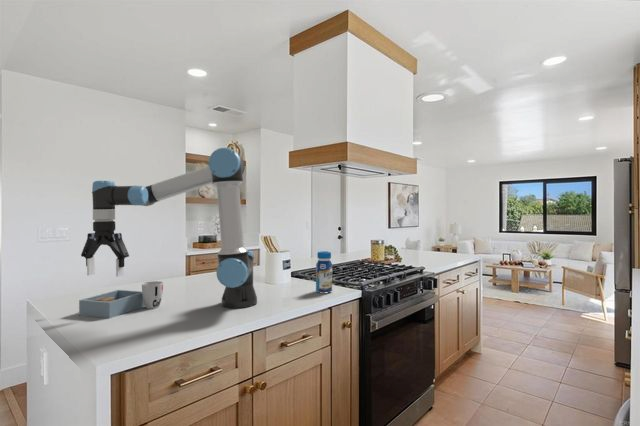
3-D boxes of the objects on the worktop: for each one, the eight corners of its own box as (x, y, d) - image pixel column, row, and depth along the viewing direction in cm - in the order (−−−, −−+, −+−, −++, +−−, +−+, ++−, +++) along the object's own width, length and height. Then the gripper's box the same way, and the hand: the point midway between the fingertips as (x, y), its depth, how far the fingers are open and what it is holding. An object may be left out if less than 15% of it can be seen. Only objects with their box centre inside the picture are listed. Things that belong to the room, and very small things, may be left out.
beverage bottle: (321, 289, 187) (322, 250, 187) (335, 291, 182) (335, 251, 182) (312, 292, 180) (312, 252, 180) (326, 294, 175) (326, 253, 175)
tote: (145, 305, 153) (145, 291, 153) (109, 318, 135) (109, 302, 135) (118, 303, 157) (118, 289, 157) (79, 315, 138) (79, 300, 138)
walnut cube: (114, 310, 143) (114, 297, 143) (104, 313, 138) (104, 300, 138) (104, 309, 144) (104, 296, 144) (93, 312, 139) (93, 299, 139)
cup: (154, 310, 146) (154, 285, 146) (137, 309, 148) (137, 284, 148) (167, 305, 154) (167, 281, 154) (150, 304, 156) (150, 280, 156)
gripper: (138, 220, 141) (139, 274, 142) (86, 220, 148) (87, 272, 148) (123, 220, 134) (124, 278, 134) (69, 221, 140) (70, 276, 140)
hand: (105, 275), depth 141 cm, fingers open, 13 cm apart
